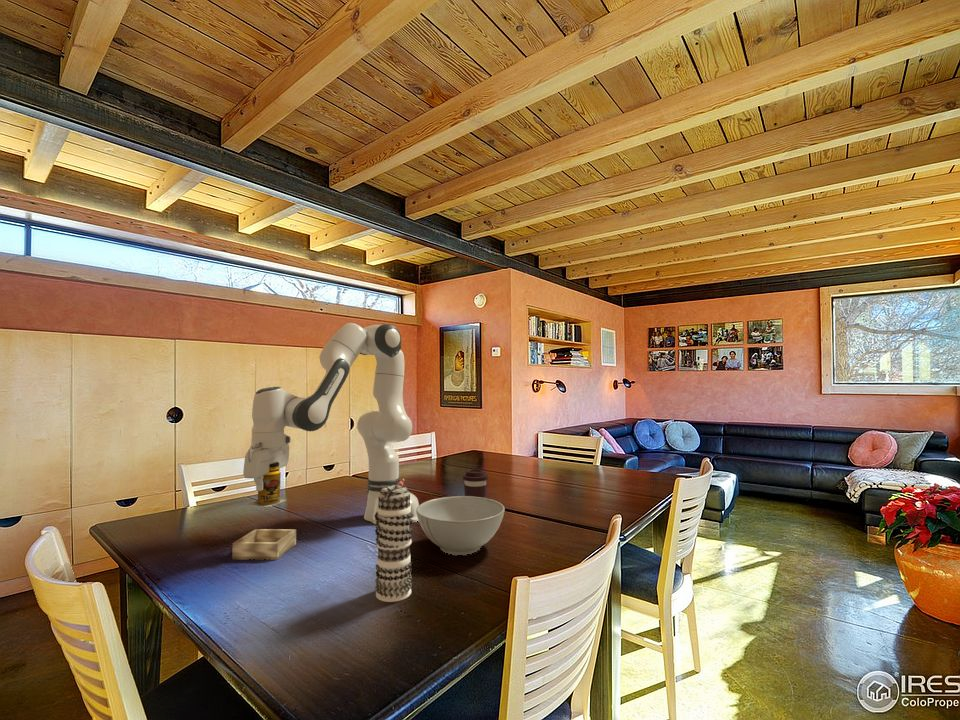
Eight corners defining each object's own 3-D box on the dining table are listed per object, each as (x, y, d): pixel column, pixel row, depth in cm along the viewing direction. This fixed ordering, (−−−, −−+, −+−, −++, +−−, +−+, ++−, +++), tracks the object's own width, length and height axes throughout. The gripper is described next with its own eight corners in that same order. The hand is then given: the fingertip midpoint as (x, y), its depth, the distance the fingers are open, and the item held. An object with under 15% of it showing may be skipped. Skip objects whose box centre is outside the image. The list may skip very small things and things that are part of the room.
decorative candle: (377, 606, 99) (378, 493, 100) (370, 588, 108) (371, 485, 109) (417, 598, 103) (417, 489, 104) (407, 581, 111) (408, 481, 112)
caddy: (296, 544, 137) (296, 529, 137) (277, 559, 125) (277, 543, 125) (254, 543, 137) (255, 529, 138) (232, 559, 125) (232, 543, 126)
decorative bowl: (399, 558, 126) (399, 515, 126) (439, 528, 151) (439, 493, 151) (487, 572, 117) (487, 525, 117) (515, 538, 142) (514, 500, 142)
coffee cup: (465, 505, 179) (465, 468, 180) (489, 506, 178) (489, 468, 179) (460, 512, 169) (460, 473, 170) (486, 513, 168) (486, 473, 169)
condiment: (269, 507, 128) (270, 465, 128) (246, 504, 130) (247, 463, 131) (287, 500, 135) (288, 461, 135) (264, 498, 137) (265, 459, 138)
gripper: (260, 445, 122) (258, 496, 122) (293, 436, 143) (292, 479, 142) (237, 445, 123) (236, 496, 122) (274, 436, 143) (273, 479, 142)
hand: (266, 487), depth 132 cm, fingers closed on condiment, 6 cm apart
